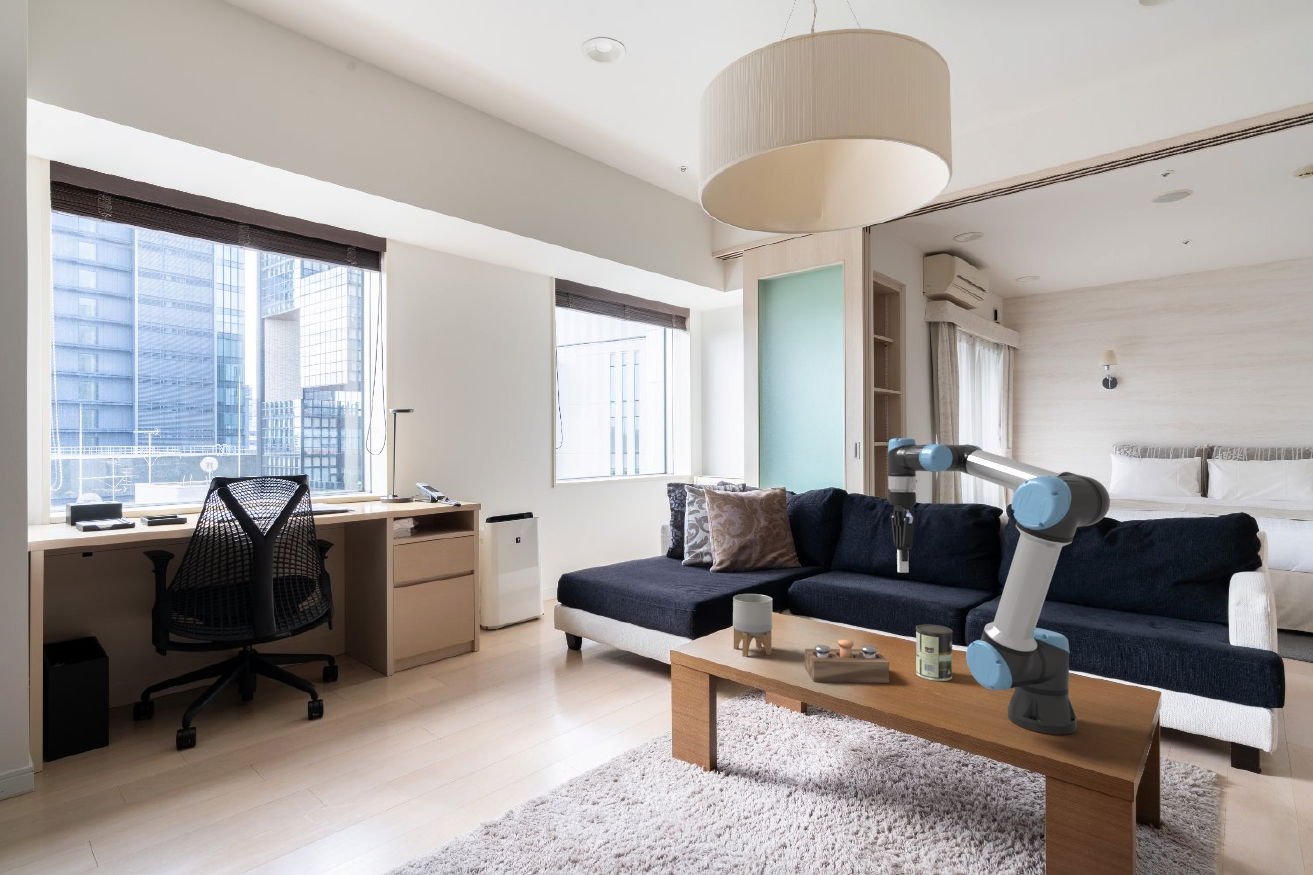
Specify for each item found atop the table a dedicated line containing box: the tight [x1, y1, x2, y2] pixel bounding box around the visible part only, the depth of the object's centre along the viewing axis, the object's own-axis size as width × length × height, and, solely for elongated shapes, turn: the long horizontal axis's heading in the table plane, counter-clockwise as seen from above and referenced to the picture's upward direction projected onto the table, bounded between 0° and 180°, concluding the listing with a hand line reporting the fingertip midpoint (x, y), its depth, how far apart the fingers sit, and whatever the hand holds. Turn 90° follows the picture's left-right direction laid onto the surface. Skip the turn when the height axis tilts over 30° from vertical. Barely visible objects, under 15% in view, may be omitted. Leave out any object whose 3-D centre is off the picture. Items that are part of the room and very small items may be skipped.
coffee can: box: [915, 623, 954, 682], centre depth 202 cm, size 10×10×14 cm
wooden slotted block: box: [804, 648, 890, 684], centre depth 202 cm, size 12×22×6 cm, turn 90°
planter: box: [732, 593, 773, 658], centre depth 224 cm, size 13×13×18 cm
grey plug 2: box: [860, 645, 878, 658], centre depth 202 cm, size 4×4×7 cm
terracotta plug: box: [837, 638, 855, 658], centre depth 202 cm, size 4×4×7 cm
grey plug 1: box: [814, 644, 831, 658], centre depth 202 cm, size 4×4×7 cm
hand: (902, 572), depth 195 cm, fingers closed
